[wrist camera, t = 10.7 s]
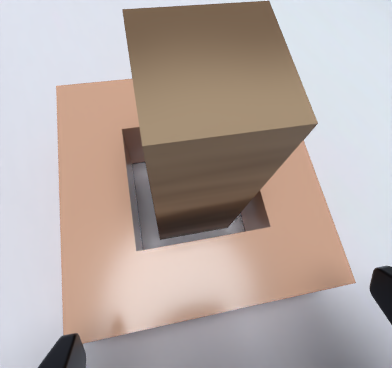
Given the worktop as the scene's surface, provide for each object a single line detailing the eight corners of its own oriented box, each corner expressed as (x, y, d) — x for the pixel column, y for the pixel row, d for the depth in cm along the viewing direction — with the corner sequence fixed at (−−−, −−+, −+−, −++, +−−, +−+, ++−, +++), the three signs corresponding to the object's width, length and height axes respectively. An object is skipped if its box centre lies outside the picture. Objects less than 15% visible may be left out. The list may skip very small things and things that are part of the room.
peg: (227, 227, 17) (317, 123, 6) (160, 239, 16) (142, 146, 6) (213, 166, 18) (268, 0, 8) (150, 175, 17) (122, 9, 7)
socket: (312, 285, 16) (356, 282, 12) (91, 333, 14) (63, 348, 10) (256, 107, 20) (275, 65, 16) (79, 128, 18) (56, 85, 14)
